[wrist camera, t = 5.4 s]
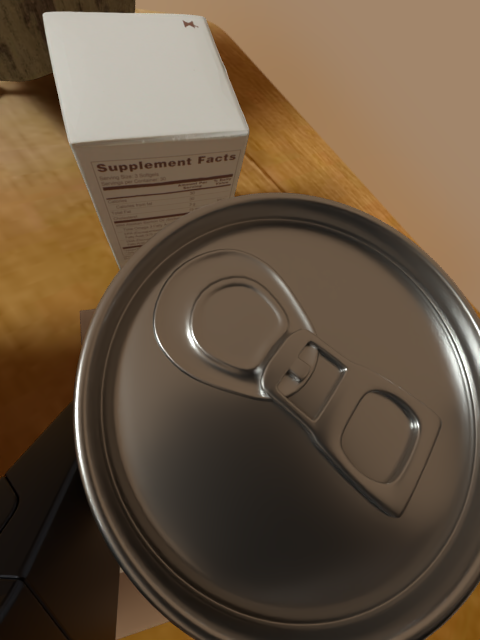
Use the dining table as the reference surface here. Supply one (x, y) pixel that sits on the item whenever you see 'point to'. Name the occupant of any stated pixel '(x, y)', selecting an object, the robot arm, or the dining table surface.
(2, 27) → the tabletop clock
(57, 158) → the dining table surface
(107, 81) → the supplement box
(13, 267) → the dining table surface
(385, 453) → the can
